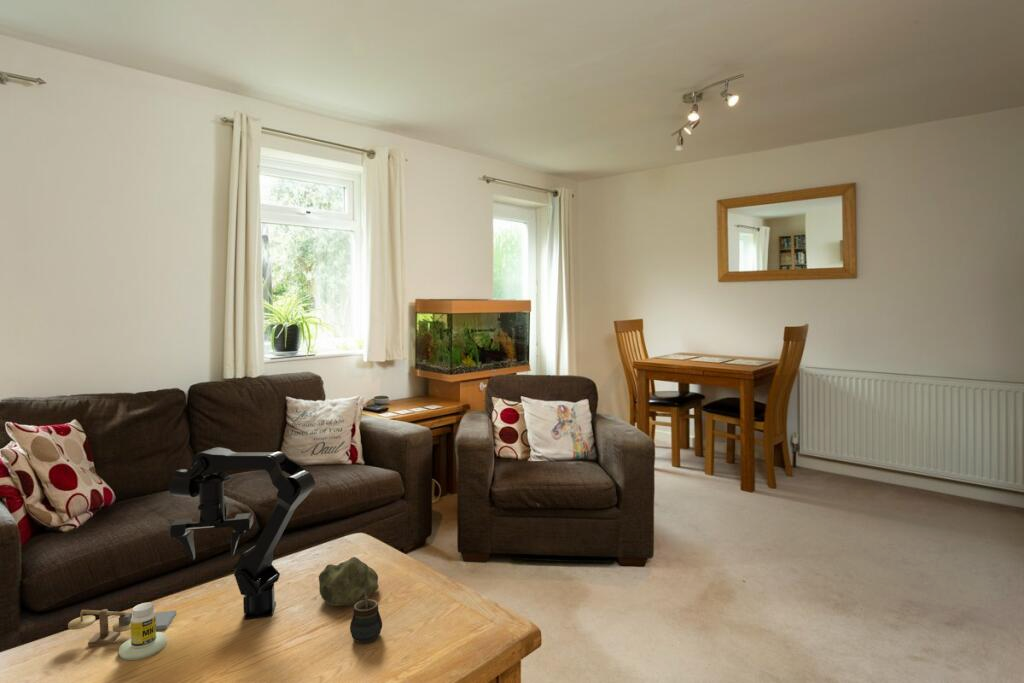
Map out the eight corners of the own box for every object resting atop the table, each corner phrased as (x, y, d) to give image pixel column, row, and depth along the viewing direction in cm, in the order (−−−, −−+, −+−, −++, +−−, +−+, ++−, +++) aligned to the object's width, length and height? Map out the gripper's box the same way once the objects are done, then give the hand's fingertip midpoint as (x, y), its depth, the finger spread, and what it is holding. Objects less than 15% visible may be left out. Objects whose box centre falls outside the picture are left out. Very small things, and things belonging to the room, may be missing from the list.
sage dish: (172, 634, 133) (171, 629, 133) (158, 656, 124) (158, 651, 124) (128, 640, 130) (128, 635, 130) (111, 663, 122) (111, 657, 122)
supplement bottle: (143, 650, 124) (142, 613, 124) (125, 647, 125) (124, 610, 125) (161, 638, 129) (160, 602, 129) (144, 635, 130) (143, 600, 130)
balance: (142, 629, 135) (141, 598, 134) (134, 641, 130) (132, 608, 129) (75, 638, 131) (74, 606, 131) (64, 650, 126) (62, 617, 126)
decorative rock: (387, 605, 149) (390, 569, 148) (327, 619, 140) (330, 581, 139) (368, 578, 161) (371, 544, 160) (311, 589, 152) (314, 554, 151)
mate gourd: (353, 650, 126) (352, 607, 125) (347, 634, 132) (346, 592, 132) (385, 641, 129) (384, 599, 129) (377, 626, 136) (376, 585, 135)
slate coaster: (176, 613, 142) (176, 609, 142) (167, 628, 135) (166, 624, 135) (145, 617, 140) (145, 613, 140) (134, 633, 133) (133, 628, 133)
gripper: (256, 485, 154) (258, 541, 155) (181, 491, 149) (182, 548, 150) (248, 498, 143) (250, 558, 144) (166, 505, 139) (168, 566, 139)
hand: (213, 557), depth 145 cm, fingers open, 9 cm apart
